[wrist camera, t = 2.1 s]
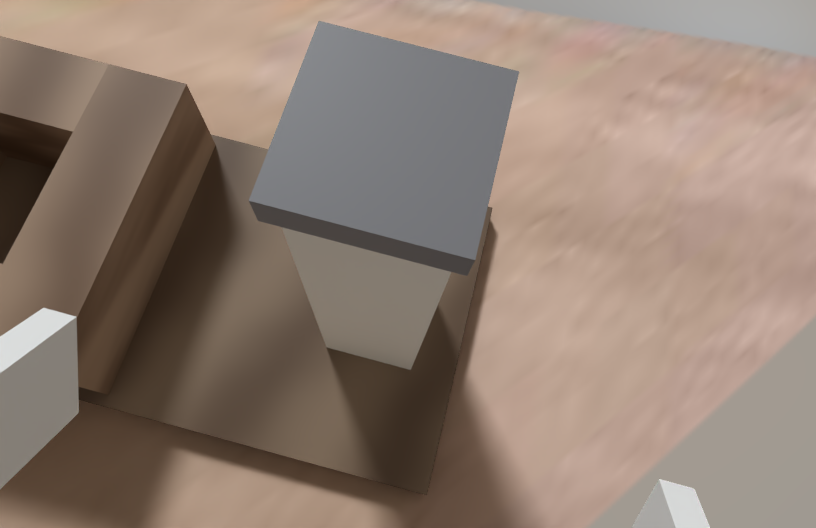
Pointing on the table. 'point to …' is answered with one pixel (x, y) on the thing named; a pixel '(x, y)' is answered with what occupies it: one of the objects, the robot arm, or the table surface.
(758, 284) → the table surface
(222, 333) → the wooden socket base
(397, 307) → the post
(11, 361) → the robot arm
